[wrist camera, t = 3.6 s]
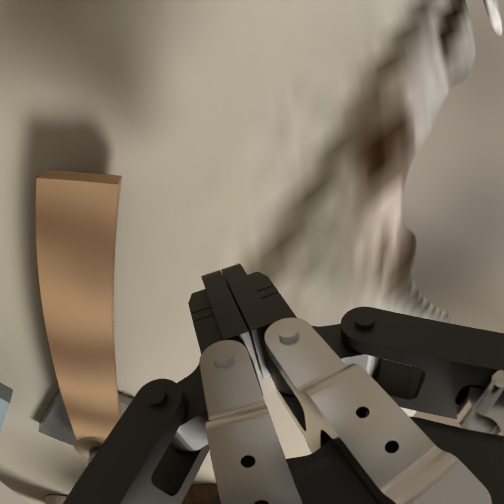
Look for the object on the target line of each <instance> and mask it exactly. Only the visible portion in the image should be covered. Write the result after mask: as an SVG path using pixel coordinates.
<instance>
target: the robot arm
mask: <svg viewBox="0 0 504 504" xmlns="http://www.w3.org/2000/svg"><path fill="white" fill-rule="evenodd" d="M221 271H222V273H221ZM221 271H220V270H219V271H216V272H213V273H210V274H206V275H203V276H201V277H202V280H203V283H204V286H205V289H204V290H201V291H198V292H195V293H192V295H191V298H190V301H189V308H190V312H191V316H192V320H193V324H194V328H195V331H196V335H197V339H198V343H199V347H200V350H201V357H200V361H199V365H198V367H197V368H196V369H195V371H194V372H193V373H192V374H190V375H189V376H188V377H186V378H184V379H183V380H181V381H179V382H178V383H175V382H174V381H171V380H168V379H157V380H153V381H151V382H149V383H147V384H145V385H144V386H143V387H142V388H141V389H140V390H139V391H138V393H137V394H136V396H135V397H134V399H133V400H132V401H131V403H130V404H129V406H128V407H127V409H126V410H125V412H124V413H123V415H122V416H121V418H120V419H119V420H118V422H117V423H116V425H115V426H114V428H113V429H112V431H111V432H110V434H109V435H108V437H107V438H106V440H105V441H104V443H103V444H102V446H101V447H100V448H99V450H98V451H97V453H96V454H95V456H94V457H93V459H92V460H91V462H90V463H89V465H88V466H87V468H86V469H85V471H84V472H83V474H82V475H81V477H80V478H79V480H78V481H77V483H76V484H75V486H74V487H73V489H72V490H71V492H70V493H69V495H68V496H67V497H66V496H59V495H48V496H46V497H45V504H181V503H182V501H183V499H184V497H185V495H186V493H187V492H188V490H189V488H190V486H191V484H192V482H193V480H194V478H195V476H196V474H197V473H198V471H199V469H200V467H201V465H202V463H203V461H204V459H205V457H206V455H207V453H208V451H209V450H210V455H211V460H212V465H213V470H214V474H215V479H216V483H217V488H218V492H217V493H216V494H215V495H214V496H213V497H211V499H210V500H209V501H208V502H207V503H206V504H504V334H503V333H498V332H492V331H487V330H481V329H476V328H470V327H465V326H460V325H455V324H450V323H445V322H439V321H434V320H429V319H424V318H419V317H414V316H410V315H405V314H400V313H395V312H390V311H386V310H381V309H376V308H371V307H358V308H354V309H352V310H350V311H348V312H347V313H346V314H345V315H344V316H343V318H342V320H341V324H337V325H330V326H323V327H316V326H311V325H310V324H309V323H308V322H306V321H305V320H302V319H299V318H297V317H296V316H295V314H294V313H293V312H292V310H291V309H290V307H289V306H288V304H287V303H286V302H285V300H284V299H283V297H282V296H281V295H280V293H279V292H278V290H277V289H276V287H275V286H274V285H273V283H272V282H271V280H270V279H269V277H267V276H266V275H264V274H262V273H260V272H255V273H252V274H249V275H247V274H246V272H245V271H244V269H243V267H242V266H241V264H237V265H234V266H231V267H228V268H225V269H222V270H221ZM385 359H386V360H385ZM389 360H390V361H389ZM393 361H394V362H393ZM397 362H398V363H397ZM402 363H403V364H402ZM406 364H407V365H406ZM410 365H411V366H410ZM415 366H416V367H415ZM259 369H260V370H259ZM260 372H261V374H262V376H263V378H264V379H266V378H268V377H272V379H273V381H274V383H275V386H276V390H277V394H278V396H279V398H280V399H281V401H282V402H283V404H284V406H285V407H286V409H287V410H288V412H289V414H290V415H291V417H292V418H293V420H294V421H295V423H296V425H297V426H298V428H299V429H300V431H301V432H302V434H303V435H304V437H305V439H306V441H307V444H308V446H309V449H310V451H311V452H312V454H310V455H307V456H302V457H296V458H290V459H285V456H284V453H283V450H282V448H281V445H280V442H279V439H278V437H277V434H276V431H275V428H274V425H273V423H272V420H271V417H270V414H269V411H268V409H267V406H266V404H265V401H264V398H263V393H262V389H261V386H260V383H259V381H261V380H262V378H261V374H260ZM400 407H403V408H407V409H411V410H416V411H420V412H424V413H429V414H434V415H438V416H444V417H448V418H454V419H458V422H459V424H460V428H459V427H455V426H450V425H446V424H442V423H438V422H434V421H429V420H425V419H422V418H417V417H409V416H408V415H407V414H406V413H405V412H404V411H403V410H402V409H401V408H400Z"/></svg>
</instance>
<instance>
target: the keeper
mask: <svg viewBox="0 0 504 504" xmlns="http://www.w3.org/2000/svg"><path fill="white" fill-rule="evenodd" d="M12 392H13V390H12V389H11V388H9V387H7V386H5V385H4V384H2V383H0V431H1V428H2V425H3V421H4V418H5V415H6V412H7V409H8V406H9V404H10V400H11V396H12Z"/></svg>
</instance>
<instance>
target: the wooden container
mask: <svg viewBox="0 0 504 504" xmlns="http://www.w3.org/2000/svg"><path fill="white" fill-rule="evenodd" d="M217 492H218V488H217V484H203V485H192V486H190V488H189V490H188V492H187V493H186V495H185V497H184V499H183V501H182V503H181V504H206V503H207V502H208V501H209V500H210V499H211V497H213V496H214V495H215V494H216V493H217Z"/></svg>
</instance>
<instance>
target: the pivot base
mask: <svg viewBox="0 0 504 504" xmlns="http://www.w3.org/2000/svg"><path fill="white" fill-rule="evenodd" d="M118 399H119V408H120V416H122V415H123V413H124V412H125V410H126V409H127V407H128V406H129V404H130V403H131V401H132V400H133V399H134V398H131V397H129V396H126V395H124V394H121V393H119V392H118ZM39 432H41V433H43V434H46V435H48V436H50V437H53V438H55V439H58V440H60V441H63V442H65V443H68V444H71V445H73V446H74V441H75V434H74V431H73V428H72V425H71V423H70V420H69V417H68V414H67V411H66V408H65V404H64V401H63V398H62V395H61V391H60V389H59V391H58V393H57V394H56V396H55V398H54V399H53V401H52V403H51V405H50V406H49V408H48V410H47V411H46V413H45V415H44V417H43V418H42V420H41V422H40V424H39ZM99 448H100V447H93V448H91V449H89V463H90V462H91V460H92V459H93V457H94V456H95V454H96V453H97V451H98V450H99Z"/></svg>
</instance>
